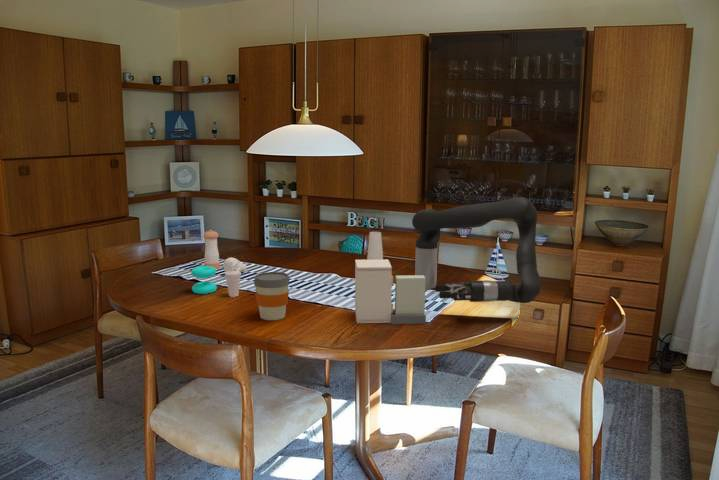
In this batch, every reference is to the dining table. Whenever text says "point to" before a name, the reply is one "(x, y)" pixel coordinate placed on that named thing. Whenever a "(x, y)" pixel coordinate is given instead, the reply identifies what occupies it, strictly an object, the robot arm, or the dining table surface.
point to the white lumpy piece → (234, 265)
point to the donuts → (204, 286)
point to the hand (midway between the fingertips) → (437, 291)
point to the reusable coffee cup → (272, 294)
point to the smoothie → (233, 281)
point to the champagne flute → (375, 246)
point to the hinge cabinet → (377, 294)
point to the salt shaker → (211, 249)
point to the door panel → (410, 295)
